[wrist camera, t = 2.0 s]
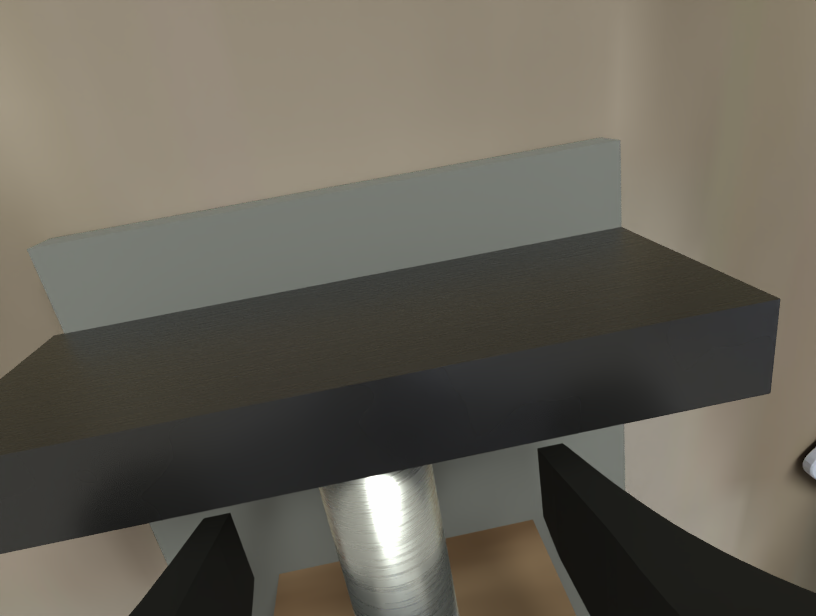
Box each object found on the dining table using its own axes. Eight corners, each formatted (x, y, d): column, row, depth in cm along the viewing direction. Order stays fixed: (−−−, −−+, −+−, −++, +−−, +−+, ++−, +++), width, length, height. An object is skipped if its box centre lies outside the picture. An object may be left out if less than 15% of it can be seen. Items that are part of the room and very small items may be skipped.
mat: (49, 238, 13) (27, 249, 12) (601, 137, 14) (620, 140, 13) (300, 826, 23) (298, 857, 22) (617, 752, 23) (628, 778, 22)
